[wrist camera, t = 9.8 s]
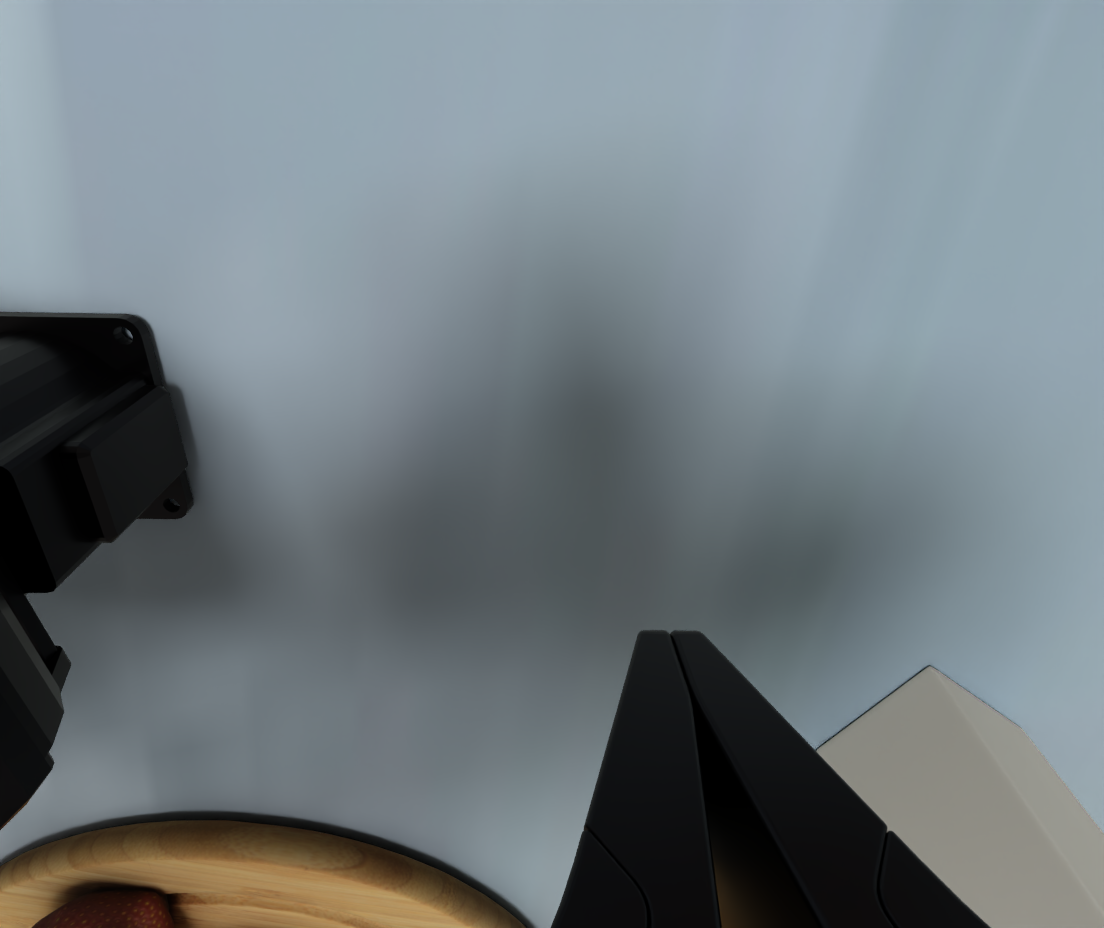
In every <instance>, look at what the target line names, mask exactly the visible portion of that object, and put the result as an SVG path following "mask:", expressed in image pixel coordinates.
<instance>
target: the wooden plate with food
mask: <svg viewBox="0 0 1104 928" xmlns="http://www.w3.org/2000/svg"><path fill="white" fill-rule="evenodd" d="M0 928H526V927H525V926H524V925H523V924H522V923H521V922H520V921H519V920H518V919H516V918H515V917H514V916H513V915H511V914H510V913H509V912H508V911H507V910H505V909H504V908H503V907H501V906H500V905H498V904H497V903H496V902H494V901H493V900H491V899H490V898H488V897H487V896H486V895H484V894H482V893H481V892H479V891H477V890H475V889H474V888H472V887H470V886H468V885H467V884H465V883H463V882H461V881H460V880H458V879H456V878H454V877H452V876H451V875H449V874H447V873H445V872H442V871H440V870H438V869H436V868H433V867H431V866H428V865H426V864H424V863H421V862H419V861H416V860H414V859H411V858H409V857H407V856H404V855H401V854H398V853H395V852H392V851H389V850H386V849H383V848H380V847H377V846H374V845H370V844H367V843H363V842H359V841H356V840H352V839H348V838H344V837H339V836H335V835H331V834H326V833H321V832H317V831H311V830H305V829H298V828H291V827H285V826H276V825H268V824H258V823H249V822H239V821H229V820H188V821H163V822H151V823H139V824H132V825H125V826H118V827H112V828H106V829H100V830H95V831H90V832H85V833H82V834H78V835H75V836H71V837H68V838H64V839H61V840H57V841H53V842H50V843H47V844H45V845H42V846H40V847H37V848H35V849H32V850H30V851H27V852H24V853H23V854H21V855H19V856H17V857H16V858H14V859H12V860H10V861H9V862H7V863H5V864H3V865H2V866H0Z"/></svg>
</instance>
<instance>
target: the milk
mask: <svg viewBox="0 0 1104 928" xmlns="http://www.w3.org/2000/svg"><path fill="white" fill-rule="evenodd" d="M816 752H817V753H818V754H819V755H820V756H821V757H822V758H823V759H824V760H825V761H826V762H827V763H828V764H829V765H830V766H831V767H832V768H833V769H834V770H835V772H836V773H837V774H838V775H839V776H840V777H841V778H842V779H843V780H844V781H845V782H846V783H847V784H848V785H849V786H850V787H851V788H852V789H853V790H854V791H855V792H856V793H857V794H858V795H859V796H860V798H861V799H862V800H863V801H864V802H865V803H866V804H867V805H868V806H869V807H870V808H871V809H872V810H873V811H874V812H875V813H876V814H877V815H878V816H879V817H880V818H881V819H882V820H883V821H884V823H885V824H886V825H887V832H888V831H893V832H894V833H895V834H896V835H897V836H898V837H899V838H900V839H901V840H902V841H903V842H904V843H905V844H906V845H907V846H908V847H909V848H910V849H911V850H912V851H913V852H914V853H915V854H916V855H917V856H918V857H919V859H920V860H921V861H922V862H924V863H925V864H926V865H927V866H928V867H929V868H930V869H931V870H932V871H933V872H934V873H935V874H936V875H937V876H938V877H939V878H940V879H941V880H942V881H943V882H944V883H945V884H946V885H947V886H948V887H949V888H950V889H951V890H952V891H953V892H954V893H955V894H956V895H957V896H958V897H959V898H960V899H961V900H962V901H963V902H964V903H965V904H966V905H967V906H968V907H969V908H970V909H971V910H972V911H974V912H975V913H976V914H977V915H978V916H979V917H980V918H981V919H982V920H983V921H984V922H985V923H987V924H988V925H989V926H990V927H991V928H1104V833H1103V832H1102V831H1101V830H1100V828H1099V827H1098V826H1097V824H1096V823H1095V822H1094V821H1093V819H1092V818H1091V817H1090V815H1089V814H1088V813H1087V811H1086V810H1085V809H1084V808H1083V806H1082V805H1081V804H1080V802H1079V801H1078V800H1077V799H1076V797H1075V796H1074V795H1073V793H1072V792H1071V791H1070V790H1069V788H1068V787H1067V786H1066V784H1065V783H1064V782H1063V781H1062V779H1061V778H1060V777H1059V775H1058V774H1057V773H1056V771H1055V770H1054V769H1053V768H1052V766H1051V765H1050V764H1049V762H1048V761H1047V760H1046V759H1045V757H1044V756H1043V755H1042V753H1041V752H1040V751H1039V750H1038V748H1037V747H1036V746H1035V744H1034V743H1033V742H1032V740H1031V739H1030V738H1029V737H1028V735H1027V734H1026V733H1025V732H1024V730H1023V729H1022V728H1020V727H1019V726H1017V725H1016V724H1014V723H1013V722H1012V721H1010V720H1009V719H1007V718H1006V717H1004V716H1003V715H1001V714H1000V713H999V712H997V711H996V710H994V709H993V708H991V707H990V706H988V705H987V704H985V703H984V702H983V701H981V700H980V699H978V698H977V697H975V696H974V695H972V694H971V693H970V692H968V691H967V690H965V689H964V688H962V687H961V686H959V685H958V684H956V683H955V682H954V681H952V680H951V679H949V678H948V677H946V676H945V675H943V674H942V673H941V672H939V671H938V670H936V669H935V668H933V667H931V666H929V667H927V668H926V669H924V670H923V671H922V672H920V673H919V674H918V675H916V676H915V677H914V678H912V679H911V680H909V681H908V682H907V683H905V684H904V685H903V686H901V687H900V688H899V689H897V690H896V691H895V692H893V693H892V694H891V695H889V696H888V697H887V698H885V699H884V700H883V701H881V702H880V703H879V704H877V705H876V706H875V707H873V708H872V709H871V710H869V711H868V712H867V713H865V714H864V715H863V716H861V717H860V718H858V719H857V720H856V721H854V722H853V723H852V724H850V725H849V726H848V727H846V728H845V729H844V730H842V731H841V732H840V733H838V734H837V735H836V736H834V737H833V738H832V739H830V740H829V741H828V742H826V743H825V744H824V745H822V746H821V747H820V748H818V749H817V751H816Z"/></svg>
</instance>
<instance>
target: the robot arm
mask: <svg viewBox="0 0 1104 928" xmlns="http://www.w3.org/2000/svg"><path fill="white" fill-rule="evenodd" d="M121 327H124V328H126V329H128V330H129V331H130V332H131V334H132V336H133V340H129V339H127V338H126V337H125V336H124V335H123V333H122V331H121ZM187 465H188V463H187V459H186V455H185V451H184V447H183V444H182V440H181V436H180V432H179V428H178V424H177V421H176V417H175V413H174V409H173V405H172V402H171V398H170V394H169V393H168V391H167V390H166V389H165V388H164V387H163V383H162V380H161V376H160V372H159V368H158V365H157V361H156V357H155V353H154V350H153V346H152V342H151V338H150V335H149V331H148V329H147V327H146V325H145V324H144V323H143V322H142V321H141V320H140V319H139V318H137V317H135V316H133V315H128V314H92V313H31V312H0V830H1V829H2V828H3V827H4V826H5V825H6V824H7V823H8V822H9V821H10V820H11V819H12V818H13V817H14V816H15V815H16V814H17V813H18V812H19V811H20V810H21V809H22V808H23V807H24V806H25V805H26V804H27V803H28V801H29V800H30V799H31V797H32V796H33V795H34V793H35V792H36V791H37V789H38V788H39V787H40V785H41V784H42V783H43V781H44V780H45V778H46V777H47V776H48V774H49V773H50V771H51V770H52V768H53V765H54V760H53V758H52V756H51V755H50V753H49V750H50V749H51V747H52V745H53V743H54V740H55V737H56V734H57V731H58V728H59V725H60V722H61V719H62V717H63V714H64V709H63V704H62V699H61V694H60V693H61V691H62V688H63V685H64V683H65V680H66V677H67V674H68V672H69V669H70V666H71V662H70V660H69V659H68V657H67V655H66V654H65V652H64V650H63V649H62V647H60V646H55V645H54V643H53V642H52V640H51V638H50V637H49V635H48V633H47V632H46V630H45V628H44V627H43V625H42V623H41V621H40V620H39V618H38V616H37V615H36V613H35V611H34V610H33V608H32V606H31V605H30V603H29V601H28V600H27V598H26V596H25V595H26V594H27V593H48V592H53V591H54V590H55V589H56V588H57V587H58V586H59V585H60V584H61V583H62V582H63V581H64V580H65V579H66V578H67V577H68V576H69V575H70V574H71V573H72V572H73V571H74V570H75V569H76V568H77V567H78V566H79V565H80V564H81V563H82V562H83V561H84V560H85V559H86V558H87V557H88V556H89V555H90V554H91V553H92V552H93V551H94V550H95V549H96V548H97V547H98V546H99V545H100V544H101V543H112V542H113V541H115V540H116V539H117V538H118V537H119V536H120V535H121V534H122V533H123V532H124V531H125V530H126V529H127V528H128V527H129V526H130V525H131V524H132V523H133V522H134V521H135V520H136V519H178V518H182V517H183V516H185V515H186V514H187V513H188V512H189V510H190V509H191V508H192V506H193V496H192V493H191V489H190V485H189V481H188V478H187V474H186V470H185V468H186V467H187ZM169 498H170V499H174V500H175V501H177V502H178V504H179V505H180V506H177V505H174V504H173V503H171V501H170V499H169ZM551 928H991V927H990V926H989V925H988V924H987V923H985V922H984V921H983V920H982V919H981V918H980V917H979V916H978V915H977V914H976V913H975V912H974V911H972V910H971V909H970V908H969V907H968V906H967V905H966V904H965V903H964V902H963V901H962V900H961V899H960V898H959V897H958V896H957V895H956V894H955V893H954V892H953V891H952V890H951V889H950V888H949V887H948V886H947V885H946V884H945V883H944V882H943V881H942V880H941V879H940V878H939V877H938V876H937V875H936V874H935V873H934V872H933V871H932V870H931V869H930V868H929V867H928V866H927V865H926V864H925V863H924V862H922V861H921V860H920V859H919V857H918V856H917V855H916V854H915V853H914V852H913V851H912V850H911V849H910V848H909V847H908V846H907V845H906V844H905V843H904V842H903V841H902V840H901V839H900V838H899V837H898V836H897V835H896V834H895V833H894V832H893V831H888V832H887V825H886V824H885V823H884V821H883V820H882V819H881V818H880V817H879V816H878V815H877V814H876V813H875V812H874V811H873V810H872V809H871V808H870V807H869V806H868V805H867V804H866V803H865V802H864V801H863V800H862V799H861V798H860V796H859V795H858V794H857V793H856V792H855V791H854V790H853V789H852V788H851V787H850V786H849V785H848V784H847V783H846V782H845V781H844V780H843V779H842V778H841V777H840V776H839V775H838V774H837V773H836V772H835V770H834V769H833V768H832V767H831V766H830V765H829V764H828V763H827V762H826V761H825V760H824V759H823V758H822V757H821V756H820V755H819V754H818V753H817V752H816V751H815V750H814V749H813V748H812V747H811V746H810V744H809V743H808V742H807V741H806V740H805V739H804V738H803V737H802V736H801V735H800V734H799V733H798V732H797V731H796V730H795V729H794V728H793V727H792V726H791V725H790V724H789V723H788V722H787V721H786V720H785V718H784V717H783V716H782V715H781V714H780V713H779V712H778V711H777V710H776V709H775V708H774V707H773V706H772V705H771V704H770V703H769V702H768V701H767V700H766V699H765V698H764V697H763V696H762V695H761V694H760V692H759V691H758V690H757V689H756V688H755V687H754V686H753V685H752V684H751V683H750V682H749V681H748V680H747V679H746V678H745V677H744V676H743V675H742V674H741V673H740V672H739V671H738V670H737V669H736V668H735V666H734V665H733V664H732V663H731V662H730V661H729V660H728V659H727V658H726V657H725V656H724V655H723V654H722V653H721V652H720V651H719V650H718V649H717V648H716V647H715V646H714V645H713V644H712V643H711V641H710V640H709V639H708V638H707V637H706V636H705V635H704V634H703V633H701V632H699V631H673V632H671V633H670V634H669V633H668V632H667V631H664V630H643V631H640V632H639V634H638V636H637V640H636V644H635V647H634V651H633V654H632V658H631V661H630V665H629V668H628V672H627V676H626V679H625V683H624V686H623V690H622V693H621V697H620V700H619V704H618V708H617V711H616V715H615V718H614V722H613V725H612V729H611V733H610V736H609V740H608V743H607V747H606V750H605V754H604V757H603V761H602V765H601V768H600V772H599V775H598V779H597V782H596V786H595V790H594V793H593V797H592V800H591V804H590V807H589V811H588V814H587V818H586V822H585V825H584V831H583V832H582V834H581V838H580V842H579V845H578V849H577V852H576V856H575V859H574V863H573V866H572V869H571V872H570V875H569V878H568V881H567V885H566V888H565V891H564V894H563V897H562V900H561V903H560V906H559V908H558V911H557V913H556V916H555V918H554V921H553V923H552V926H551Z"/></svg>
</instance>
